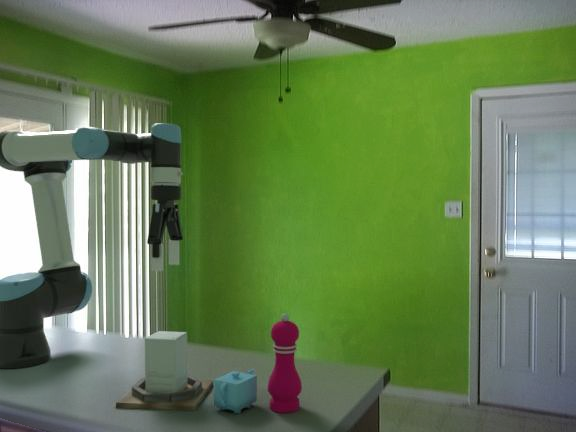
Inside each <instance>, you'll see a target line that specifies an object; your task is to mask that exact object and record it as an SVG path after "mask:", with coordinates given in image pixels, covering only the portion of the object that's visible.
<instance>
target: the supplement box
mask: <svg viewBox="0 0 576 432" xmlns="http://www.w3.org/2000/svg"><path fill="white" fill-rule="evenodd" d="M144 362H145V364H144V367H145V370H144V371H145V373H144V374H145V377H144V378H145V383H146V392H147V393H174V392H178V391H182V390H184V389H185V388H186V387H187V385H188V382H187V375H188V332H187V331H165V330H163V331H162V330H158V331H156V332H154V333H152V334H151V335H148V336H147V337H144Z"/></svg>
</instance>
